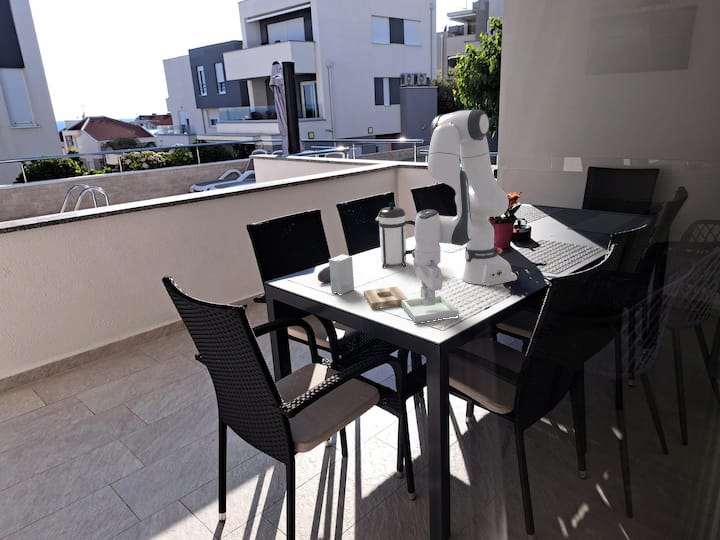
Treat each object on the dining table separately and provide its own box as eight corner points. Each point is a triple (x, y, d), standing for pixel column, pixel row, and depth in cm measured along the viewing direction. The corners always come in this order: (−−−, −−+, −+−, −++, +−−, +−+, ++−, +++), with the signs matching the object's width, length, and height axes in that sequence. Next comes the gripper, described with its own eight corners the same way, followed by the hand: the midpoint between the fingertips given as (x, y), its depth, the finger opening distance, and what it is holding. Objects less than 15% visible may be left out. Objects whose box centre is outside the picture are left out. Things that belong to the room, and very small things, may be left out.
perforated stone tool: (321, 285, 212) (320, 270, 210) (315, 282, 216) (313, 267, 214) (349, 277, 220) (348, 262, 218) (342, 274, 225) (341, 260, 222)
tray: (442, 302, 186) (441, 294, 185) (458, 318, 171) (458, 310, 170) (401, 307, 183) (401, 300, 183) (414, 324, 168) (414, 316, 168)
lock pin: (431, 300, 178) (431, 285, 177) (435, 304, 175) (434, 289, 173) (420, 302, 178) (420, 286, 176) (424, 306, 174) (424, 290, 172)
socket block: (397, 292, 199) (397, 286, 198) (407, 304, 186) (407, 298, 185) (363, 296, 196) (363, 290, 196) (371, 309, 183) (371, 303, 183)
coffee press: (394, 271, 224) (392, 207, 215) (372, 264, 236) (368, 203, 227) (421, 263, 234) (419, 200, 225) (398, 256, 246) (395, 197, 237)
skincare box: (344, 287, 209) (342, 253, 204) (355, 289, 205) (352, 255, 200) (330, 292, 203) (327, 258, 198) (340, 295, 199) (338, 260, 194)
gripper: (447, 264, 162) (446, 303, 166) (426, 248, 181) (427, 284, 185) (428, 266, 161) (429, 305, 165) (410, 250, 180) (411, 286, 184)
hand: (428, 294), depth 175 cm, fingers closed on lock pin, 4 cm apart
